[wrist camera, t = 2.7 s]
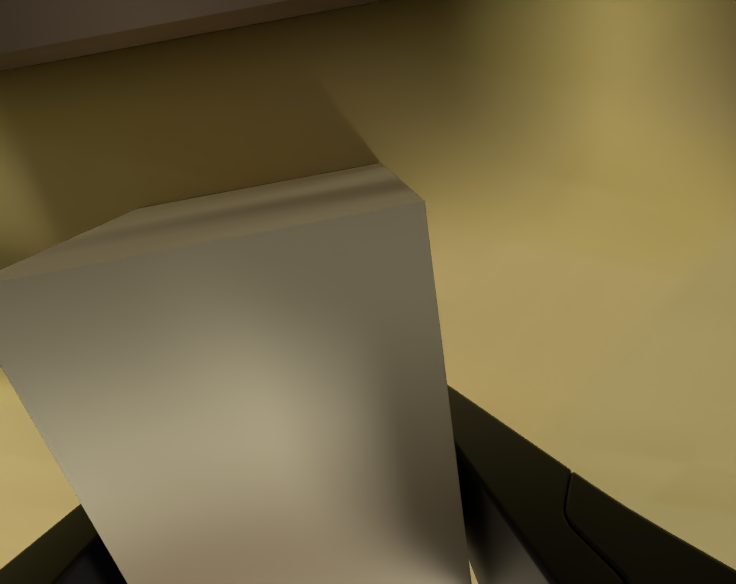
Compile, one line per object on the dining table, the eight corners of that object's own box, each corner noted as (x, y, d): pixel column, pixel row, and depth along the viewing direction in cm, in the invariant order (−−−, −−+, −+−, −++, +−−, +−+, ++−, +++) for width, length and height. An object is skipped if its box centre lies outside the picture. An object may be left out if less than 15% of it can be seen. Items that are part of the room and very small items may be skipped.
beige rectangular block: (136, 208, 8) (-44, 288, 4) (381, 162, 8) (423, 201, 4) (266, 550, 11) (232, 763, 7) (436, 517, 11) (487, 714, 7)
